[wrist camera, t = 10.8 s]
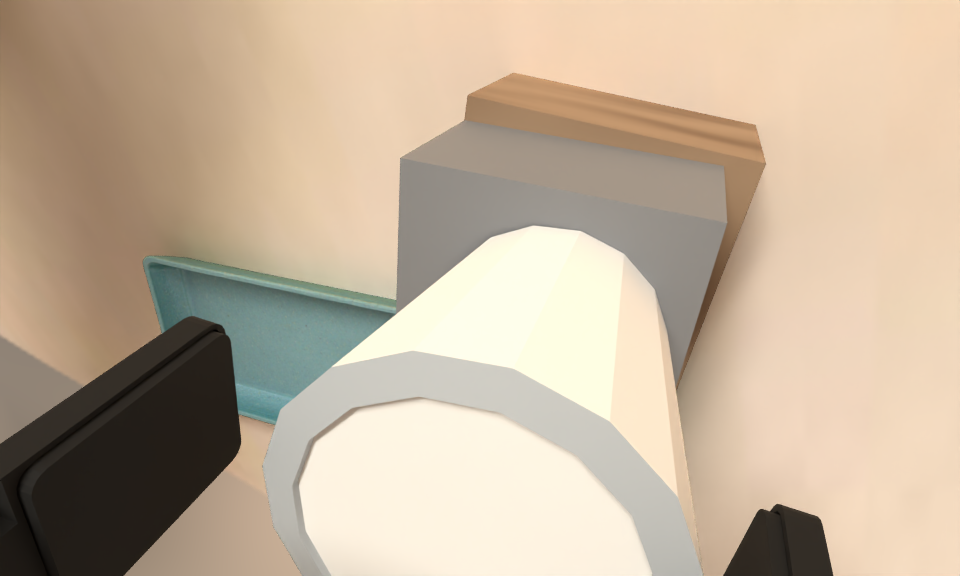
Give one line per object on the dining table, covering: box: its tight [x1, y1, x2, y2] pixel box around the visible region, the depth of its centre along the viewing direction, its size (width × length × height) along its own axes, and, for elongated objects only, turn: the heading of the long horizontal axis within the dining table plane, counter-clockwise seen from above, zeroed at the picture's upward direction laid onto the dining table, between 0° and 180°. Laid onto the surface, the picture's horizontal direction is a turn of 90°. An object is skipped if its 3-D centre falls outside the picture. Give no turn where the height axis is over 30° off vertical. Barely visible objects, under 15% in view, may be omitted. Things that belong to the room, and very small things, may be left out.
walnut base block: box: [464, 73, 766, 390], centre depth 21 cm, size 8×8×5 cm
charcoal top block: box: [396, 120, 727, 388], centre depth 17 cm, size 8×8×4 cm
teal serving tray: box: [143, 256, 397, 425], centre depth 29 cm, size 26×9×2 cm, turn 87°
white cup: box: [262, 225, 703, 576], centre depth 12 cm, size 7×7×7 cm
